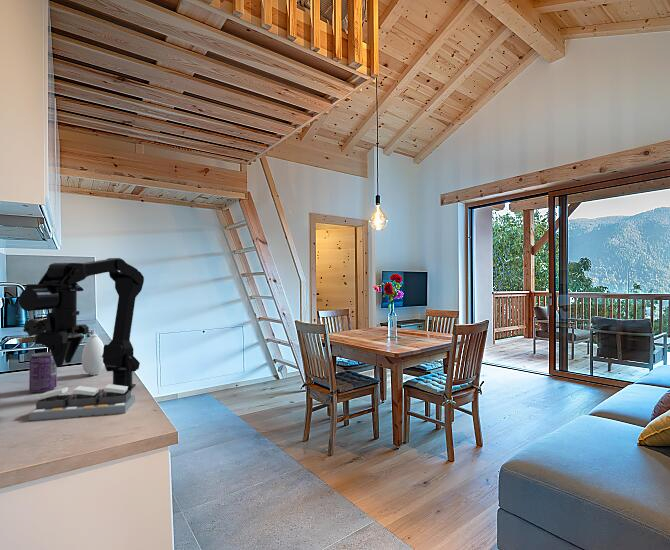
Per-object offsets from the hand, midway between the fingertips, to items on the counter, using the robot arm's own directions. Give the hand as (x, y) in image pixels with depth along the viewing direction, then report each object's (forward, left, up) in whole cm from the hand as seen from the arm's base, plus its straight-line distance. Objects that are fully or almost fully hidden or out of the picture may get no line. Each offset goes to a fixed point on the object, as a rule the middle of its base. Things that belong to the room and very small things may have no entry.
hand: (63, 364), depth 105 cm
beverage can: (-25, -16, -13) cm, 32 cm away
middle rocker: (0, +5, -8) cm, 10 cm away
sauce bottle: (-43, -7, -13) cm, 46 cm away
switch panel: (0, +5, -13) cm, 14 cm away
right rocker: (0, +13, -8) cm, 15 cm away
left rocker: (0, -2, -8) cm, 8 cm away
